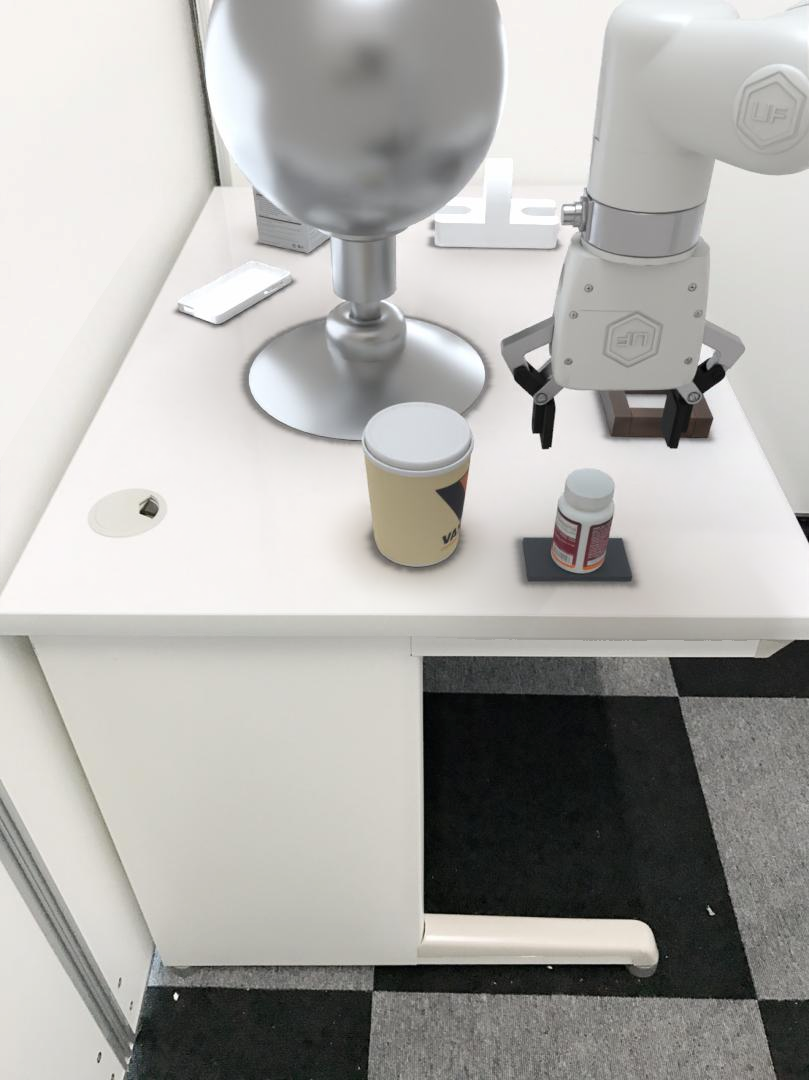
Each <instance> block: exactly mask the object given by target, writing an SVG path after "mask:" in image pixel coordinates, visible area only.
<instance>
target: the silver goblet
mask: <svg viewBox="0 0 809 1080" xmlns="http://www.w3.org/2000/svg"><path fill="white" fill-rule="evenodd" d="M208 15H209V16H208V20H207V26H206V32H205V40H204V75H205V81H206V82H205V83H206V91H207V97H208V101H209V106H210V109H211V112H212V116H213V119H214V123H215V125H216V128H217V131H218V133H219V135H220V138H221V139H222V142H223V144H224V146H225V148H226V150H227V152H228V153H229V156H230V157H231V158H232V160H233V162H234V164H235V165H236V167H237V168H238V170H239V171H240V172H241V173H242V175H243V176H244V177H245V179H246V180H247V181H248V183H250V184H251V186H252V185H253V187H254V188H255V189H256V190H257V191H258V192H259V193H260V194H261V195H262V196H264V197H265V198H266V199H267V200H268V201H269V202H270V203H272V204H273V205H274V206H276V207H277V208H278V209H280V210H281V211H283V212H284V213H286V214H287V215H289V216H291V217H293V218H294V219H296V220H298V221H300V222H302V223H304V224H307V225H309V226H312V227H314V228H316V229H318V230H319V231H320V232H322V233H324V234H326V235H329V236H330V238H329V244H330V245H329V247H330V262H331V280H332V292H333V294H334V295H335V296H336V297H338V298H339V299H341V300H344V301H342V302H341V303H339V304H337V305H336V306H335V307H333V309H332V310H330V312H328V314H327V316H326V319H322V320H318V321H314V322H311V323H308V324H304V325H301V326H299V327H296V328H294V329H292V330H289V331H288V332H285V333H283V334H281V335H280V336H279V337H277V338H276V339H273V340H272V341H271V342H270V343H268V344H267V345H266V346H264V348H263V349H262V350H261V351H260V352H259V353H258V355H257V356H256V357H255V359H254V360H253V362H252V364H251V367H250V368H249V374H248V386H249V389H250V392H251V394H252V396H253V399H254V400H255V401H256V403H257V404H258V405H259V407H260V408H262V410H263V411H265V412H266V413H267V414H268V415H270V416H271V417H273V418H274V419H275V420H277V421H279V422H281V423H283V424H285V425H287V426H288V427H291V428H293V429H296V430H299V431H302V432H304V433H309V434H311V435H316V436H320V437H325V438H331V439H340V440H349V441H362V434H363V431H364V429H365V428H366V426H367V424H368V422H369V420H370V419H371V418H372V417H373V416H374V415H376V414H377V413H378V412H380V411H381V410H383V409H385V408H388V407H390V406H393V405H397V404H401V403H409V402H426V403H433V404H438V405H441V406H445V407H447V408H450V409H452V410H454V411H455V412H457V413H458V414H460V415H462V414H463V413H464V412H465V411H467V410H468V409H469V408H470V407H472V405H473V404H474V403H475V401H476V400H478V398H479V396H480V394H481V393H482V391H483V388H484V385H485V382H486V370H485V365H484V363H483V360H482V358H481V357H480V355H479V354H478V352H477V351H476V350H475V348H473V347H472V345H471V344H470V343H468V341H466V340H465V339H464V338H462V337H460V336H459V335H457V334H455V333H454V332H452V331H450V330H448V329H445V328H443V327H441V326H438V325H436V324H433V323H429V322H426V321H423V320H419V319H416V318H409V317H405V314H404V313H403V311H402V310H401V309H400V308H399V307H397V306H396V305H395V304H393V303H392V302H391V301H388V300H387V299H389V298H390V297H392V296H393V295H394V294H395V293H396V291H397V235H399V234H400V233H403V232H404V231H406V230H407V229H408V228H409V227H411V226H413V225H415V224H418V223H420V222H422V221H424V220H425V219H428V218H429V217H431V216H433V215H434V214H436V212H437V211H438V210H440V209H441V208H442V207H444V206H445V205H446V204H447V203H449V202H450V201H451V200H452V199H453V198H456V197H457V196H458V195H459V194H460V192H462V191H463V190H464V188H465V187H466V186H467V185H468V184H469V182H470V181H471V180H472V179H473V177H474V176H475V175H476V174H477V172H478V170H479V169H480V167H481V165H482V164H483V162H484V160H486V157H487V155H488V153H489V152H490V149H491V147H492V146H493V142H494V140H495V137H496V136H497V133H498V129H499V126H500V123H501V119H502V116H503V112H504V108H505V103H506V96H507V89H508V78H509V77H508V76H509V59H508V57H509V56H508V46H507V45H508V44H507V38H506V37H507V36H506V32H505V26H504V22H503V17H502V14H501V11H500V8H499V3H498V2H497V0H213V1H212V4H211V7H210V11H209V14H208Z"/></svg>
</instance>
